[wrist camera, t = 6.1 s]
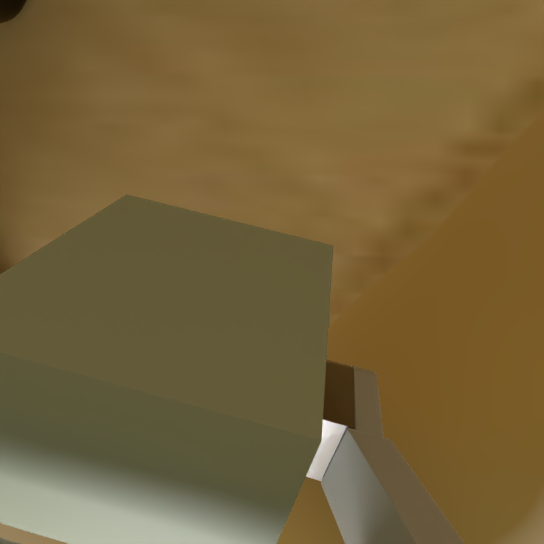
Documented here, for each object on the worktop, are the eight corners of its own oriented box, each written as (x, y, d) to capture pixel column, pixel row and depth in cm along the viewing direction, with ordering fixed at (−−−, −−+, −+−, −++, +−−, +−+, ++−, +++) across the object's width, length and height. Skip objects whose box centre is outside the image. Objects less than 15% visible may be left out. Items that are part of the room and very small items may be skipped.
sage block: (288, 389, 11) (252, 598, 7) (131, 347, 11) (1, 523, 7) (333, 245, 8) (321, 441, 4) (126, 194, 9) (-87, 328, 4)
